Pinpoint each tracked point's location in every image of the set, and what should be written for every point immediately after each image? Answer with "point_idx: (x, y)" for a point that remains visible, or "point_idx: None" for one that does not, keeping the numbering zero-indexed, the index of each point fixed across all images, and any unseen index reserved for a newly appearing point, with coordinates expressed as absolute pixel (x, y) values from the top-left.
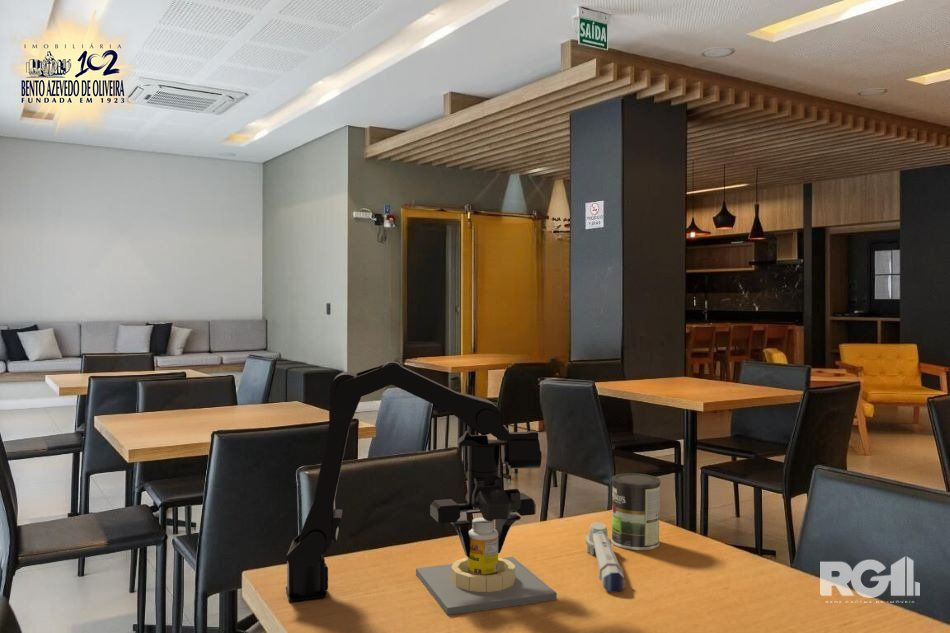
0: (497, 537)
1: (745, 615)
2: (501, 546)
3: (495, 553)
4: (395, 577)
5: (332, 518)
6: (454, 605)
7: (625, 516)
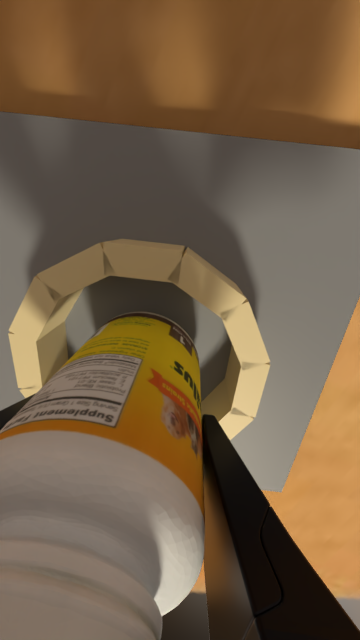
0: None
1: None
2: (5, 411)
3: (68, 365)
4: (330, 480)
5: None
6: None
7: None
